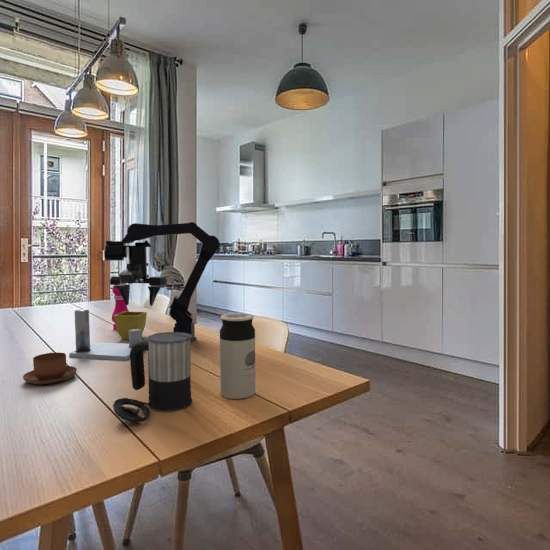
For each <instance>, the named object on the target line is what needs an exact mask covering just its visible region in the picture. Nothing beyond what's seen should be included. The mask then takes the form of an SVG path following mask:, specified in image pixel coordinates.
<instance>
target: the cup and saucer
mask: <svg viewBox="0 0 550 550" xmlns="http://www.w3.org/2000/svg"><path fill="white" fill-rule="evenodd" d="M32 363H33V364H32V366H33V370H30V371H27V372H26V373H24V374H23V376H22V379H23V380H24V381H25V382H26V383H28V384H31V385H49V384H56V383H60V382H64V381H66V380H68V379H70V378H72V377H73V376H75V375H76V374H77V371H78V369H77V368H76V367H75V366H72V365H67V354H66V353H65V352H47V353H43V354H37V355H35V356H34V357H32Z"/></svg>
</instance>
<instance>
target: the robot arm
mask: <svg viewBox="0 0 550 550" xmlns="http://www.w3.org/2000/svg"><path fill="white" fill-rule="evenodd" d="M126 232H127V233H126V234H125V236H124V237H123V238H122V240H105V246H104V247H105V248H104V259H105V261H107V262H108V261H109V262H111V261H112V262H113V261H114V262H115V261H119V262H120V261H124V260H125V258H128V263H126V269H124V270H122V271H121V272H119V273H118V275H114V276H111V277H110V279H109V285H111V286H114V285H115V286H114V287H116V288H117V289H118V290H119V291H120V293H121V295H122V297H123V299H124V302H125V304H126V305H127V306H129V303H130V288H131V284H148V286H147V288H148V290H149V306H150V307H153V305H154V303H155V301H156V298H157V295H158V294H159V292H160V290H161V288H164V285H167V284H168V280H167V277H166V276H165V275H164V276H163V275H162V276H161V275H160V276H159V275H155V276H154V275H153V276H150V275H149V274H148V269H147V267H149V266H150V265H149V262H148V261H147V248H151V247H153V244H151V243H150V242H149V240H147V239H150V238H154V237H160V236H172V235H184V234H186V235H187V234H190V235H192V236H193V237H194V238H195V239H196V240H198V241H199V242H200V243H202V244H201V246H200V250H199V254H198V258H197V260H196V262H195V264H194V266H193V269H192V270H191V273H190V274H189V277H188V279H187V280H186V283H185V285H184V286H183V289H182V291H181V293H180V294H179V295H178V296H177V295H176V294H175V295H174V297H173V300H172V302H171V303H170V304H169V306H168V307H169V316H170V318H171V319H172V320H174V321H175V323H174V327H173V329H172V330H173V332H182V333H188V334H191V335H192V337H191V339H190V343H191V342H193V341H195V340H196V339H197V338H198V337H197V336H196V334H195V332H196V331H195V330H196V329H195V322H194V315H193V313H191V312H190V311H189V307H190V302H191V298H192V297H193V294H194V292H195V290H196V288H197V286H198V284H199V282H200V279H201V277H202V275H203V273H204V271H205V269H206V267H207V265H208V263H209V261H210V260H211V259H212V257H214V255H215V253H216V252H217V251H218V250H219V248H220V240H219V239H218V237H217V236H215V235H210V234H208V233H207V232H206V231H205V230H204V229H202V228H201V227H200V226H198V224H197V223H196V222H194V221H190V222H184V223H171V224H156V225H155V224H145V223H136V222H135V223H131V224H130V225H129V226H128V227H127V231H126ZM143 240H145V241H144V242H143ZM137 241H138V242H137ZM139 241H142V242H139ZM134 242H135V243H134ZM132 243H133V244H134V245H127V244H132ZM149 285H150V286H149Z"/></svg>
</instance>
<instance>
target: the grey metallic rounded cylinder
mask: <svg viewBox="0 0 550 550" xmlns="http://www.w3.org/2000/svg"><path fill="white" fill-rule="evenodd" d="M74 329H75V330H74V333H75V351H77V352H85V351H89V350H90V345H91V333H90V332H91V331H90V329H91V327H90V311H89V309H85V308H84V309H83V308H82V309H81V308H80V309H75V310H74Z"/></svg>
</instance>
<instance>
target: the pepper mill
mask: <svg viewBox="0 0 550 550" xmlns="http://www.w3.org/2000/svg"><path fill="white" fill-rule="evenodd" d="M114 286H115V285H112V290H111V291H112V293H113V294H114V296H113V300H114V301H115V305H114V309H113V312H112V315H111V321H112V323H114V324H113V325H112V329H113V330H114V329H115V331H117V329H116V325H115V318H114V315H116V314H119V313H122V312H130V311H129V309H128V305H126V304H125V302H124V299H123V297H122V295H121V293H120V291H119V290H118V289H117V288H116V287H114Z"/></svg>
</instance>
